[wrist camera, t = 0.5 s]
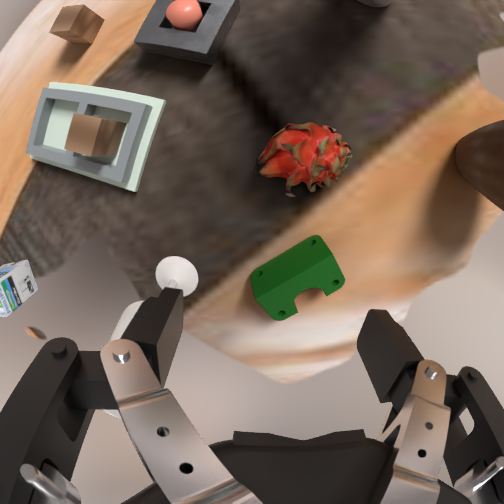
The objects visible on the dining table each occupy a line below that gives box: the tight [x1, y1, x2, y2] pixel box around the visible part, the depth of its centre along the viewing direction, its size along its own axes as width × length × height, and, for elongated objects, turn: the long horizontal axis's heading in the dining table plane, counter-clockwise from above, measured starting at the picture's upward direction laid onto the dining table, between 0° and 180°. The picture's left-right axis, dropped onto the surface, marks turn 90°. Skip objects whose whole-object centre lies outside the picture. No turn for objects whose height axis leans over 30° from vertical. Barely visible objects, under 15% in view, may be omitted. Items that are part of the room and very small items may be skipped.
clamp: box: [251, 235, 345, 321], centre depth 37 cm, size 12×6×9 cm, turn 117°
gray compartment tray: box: [26, 82, 167, 192], centre depth 30 cm, size 13×22×4 cm, turn 69°
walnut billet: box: [50, 4, 104, 44], centre depth 22 cm, size 4×4×7 cm
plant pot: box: [455, 120, 504, 211], centre depth 26 cm, size 15×15×16 cm
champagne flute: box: [103, 256, 198, 419], centre depth 29 cm, size 7×7×24 cm
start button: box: [166, 0, 204, 33], centre depth 23 cm, size 4×4×4 cm
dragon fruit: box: [254, 122, 352, 197], centre depth 31 cm, size 8×8×12 cm
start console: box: [134, 0, 240, 66], centre depth 25 cm, size 10×10×5 cm
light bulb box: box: [0, 260, 39, 317], centre depth 35 cm, size 11×7×11 cm, turn 98°
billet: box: [64, 113, 127, 157], centre depth 28 cm, size 4×4×7 cm
